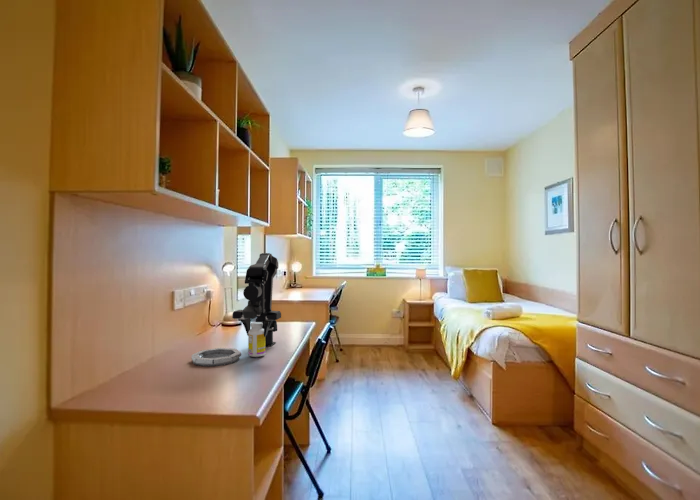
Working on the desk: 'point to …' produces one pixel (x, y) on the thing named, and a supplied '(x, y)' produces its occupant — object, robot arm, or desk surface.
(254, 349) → the supplement bottle
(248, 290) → the robot arm
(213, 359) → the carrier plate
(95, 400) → the desk surface
